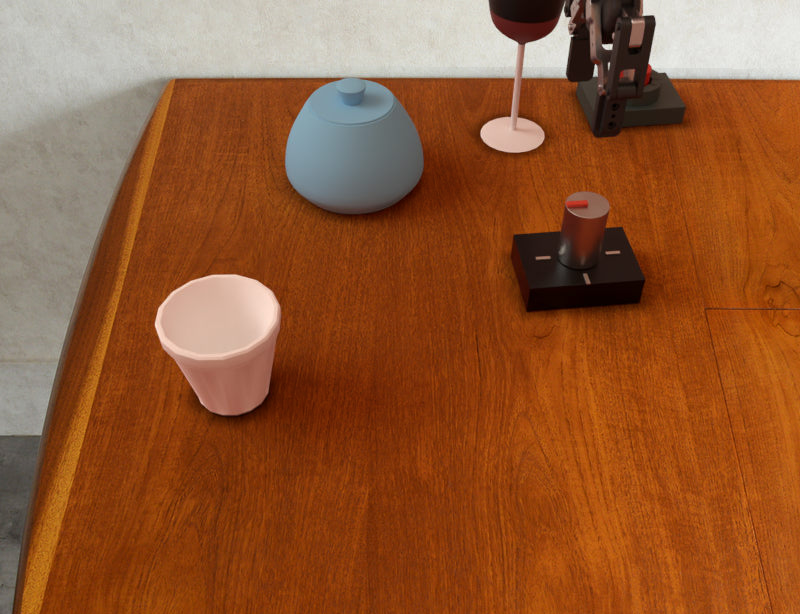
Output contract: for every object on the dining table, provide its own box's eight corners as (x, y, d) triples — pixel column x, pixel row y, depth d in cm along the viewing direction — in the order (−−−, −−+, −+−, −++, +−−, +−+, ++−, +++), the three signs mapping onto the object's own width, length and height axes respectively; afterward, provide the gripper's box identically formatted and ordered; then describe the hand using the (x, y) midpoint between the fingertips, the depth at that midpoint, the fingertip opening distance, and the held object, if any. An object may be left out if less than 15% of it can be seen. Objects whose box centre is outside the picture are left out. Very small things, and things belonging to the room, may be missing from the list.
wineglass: (532, 161, 101) (554, -17, 86) (463, 140, 104) (473, -36, 89) (560, 128, 106) (586, -47, 91) (493, 108, 108) (508, -65, 93)
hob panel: (616, 249, 91) (622, 224, 89) (639, 304, 86) (646, 278, 83) (510, 257, 90) (513, 232, 88) (526, 312, 85) (530, 287, 82)
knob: (593, 241, 87) (604, 187, 82) (603, 267, 84) (615, 213, 80) (552, 244, 87) (561, 190, 82) (562, 271, 84) (571, 216, 79)
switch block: (661, 88, 111) (669, 58, 108) (682, 123, 106) (690, 92, 103) (575, 93, 111) (580, 63, 108) (591, 129, 105) (597, 98, 102)
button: (643, 72, 107) (646, 58, 106) (652, 87, 105) (655, 73, 103) (614, 74, 107) (617, 60, 105) (622, 89, 104) (625, 75, 103)
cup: (283, 342, 82) (272, 265, 75) (298, 424, 76) (288, 347, 69) (173, 359, 81) (152, 282, 74) (179, 444, 74) (156, 368, 67)
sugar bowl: (439, 210, 95) (442, 112, 87) (300, 232, 93) (289, 133, 84) (404, 134, 105) (404, 39, 96) (277, 152, 102) (266, 56, 94)
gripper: (716, -70, 57) (662, 152, 69) (650, -148, 66) (612, 59, 78) (600, -64, 56) (566, 159, 68) (550, -143, 65) (528, 65, 78)
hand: (591, 106), depth 73 cm, fingers open, 8 cm apart
